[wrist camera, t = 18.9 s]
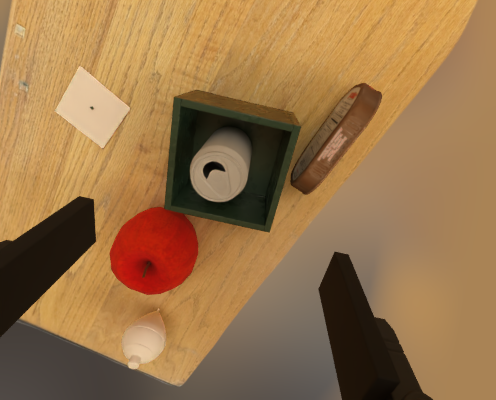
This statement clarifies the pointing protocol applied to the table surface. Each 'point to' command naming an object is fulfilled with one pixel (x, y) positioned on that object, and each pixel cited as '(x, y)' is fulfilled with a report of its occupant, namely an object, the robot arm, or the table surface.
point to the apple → (154, 251)
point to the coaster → (91, 107)
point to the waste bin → (261, 166)
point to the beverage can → (222, 165)
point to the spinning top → (144, 339)
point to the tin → (335, 137)
